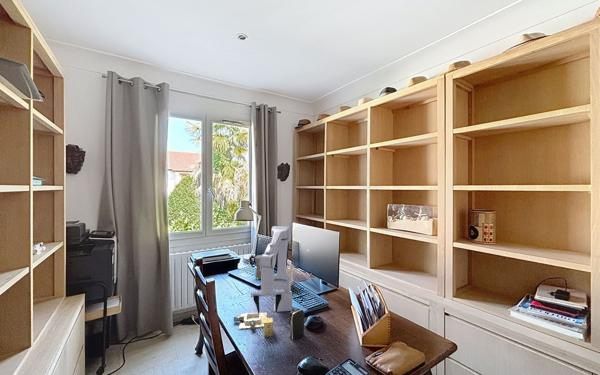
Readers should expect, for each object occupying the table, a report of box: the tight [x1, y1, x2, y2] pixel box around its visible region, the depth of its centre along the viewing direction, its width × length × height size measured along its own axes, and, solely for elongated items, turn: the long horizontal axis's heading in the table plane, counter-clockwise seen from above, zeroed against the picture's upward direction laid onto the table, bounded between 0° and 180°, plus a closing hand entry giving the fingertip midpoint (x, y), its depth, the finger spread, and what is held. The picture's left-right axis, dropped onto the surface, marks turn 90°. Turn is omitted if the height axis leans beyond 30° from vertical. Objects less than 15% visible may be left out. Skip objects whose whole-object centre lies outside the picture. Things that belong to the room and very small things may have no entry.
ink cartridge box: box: [286, 263, 294, 285], centre depth 169 cm, size 9×5×15 cm, turn 148°
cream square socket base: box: [233, 311, 268, 331], centre depth 126 cm, size 16×15×3 cm
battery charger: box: [288, 308, 305, 341], centre depth 115 cm, size 7×4×11 cm, turn 134°
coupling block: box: [263, 317, 274, 337], centre depth 117 cm, size 4×5×6 cm
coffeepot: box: [248, 252, 263, 280], centre depth 187 cm, size 15×9×18 cm, turn 88°
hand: (267, 312), depth 117 cm, fingers open, 7 cm apart
